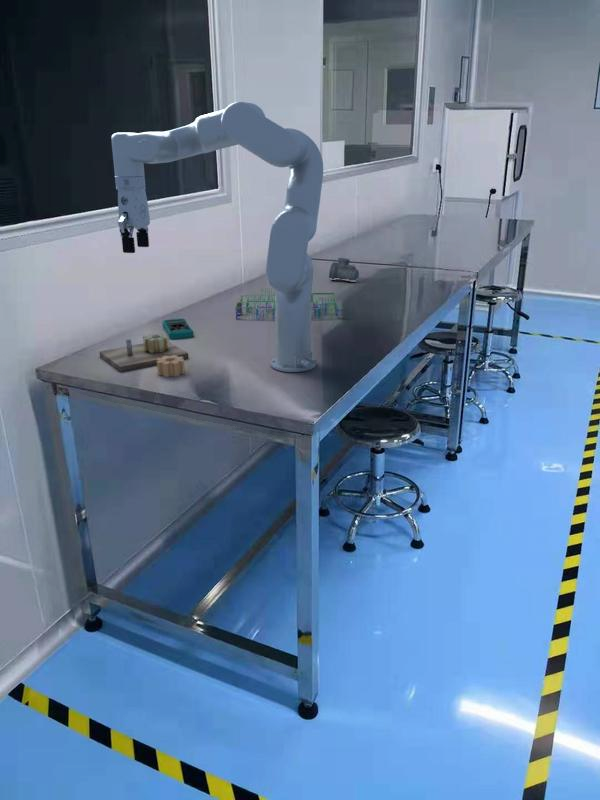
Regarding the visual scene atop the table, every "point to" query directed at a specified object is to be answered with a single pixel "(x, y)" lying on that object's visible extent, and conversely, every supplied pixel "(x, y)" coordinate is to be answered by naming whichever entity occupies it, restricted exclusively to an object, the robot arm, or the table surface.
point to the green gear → (156, 343)
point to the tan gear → (170, 366)
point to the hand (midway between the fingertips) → (136, 249)
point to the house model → (239, 306)
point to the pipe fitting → (343, 270)
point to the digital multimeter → (177, 329)
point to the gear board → (137, 356)
